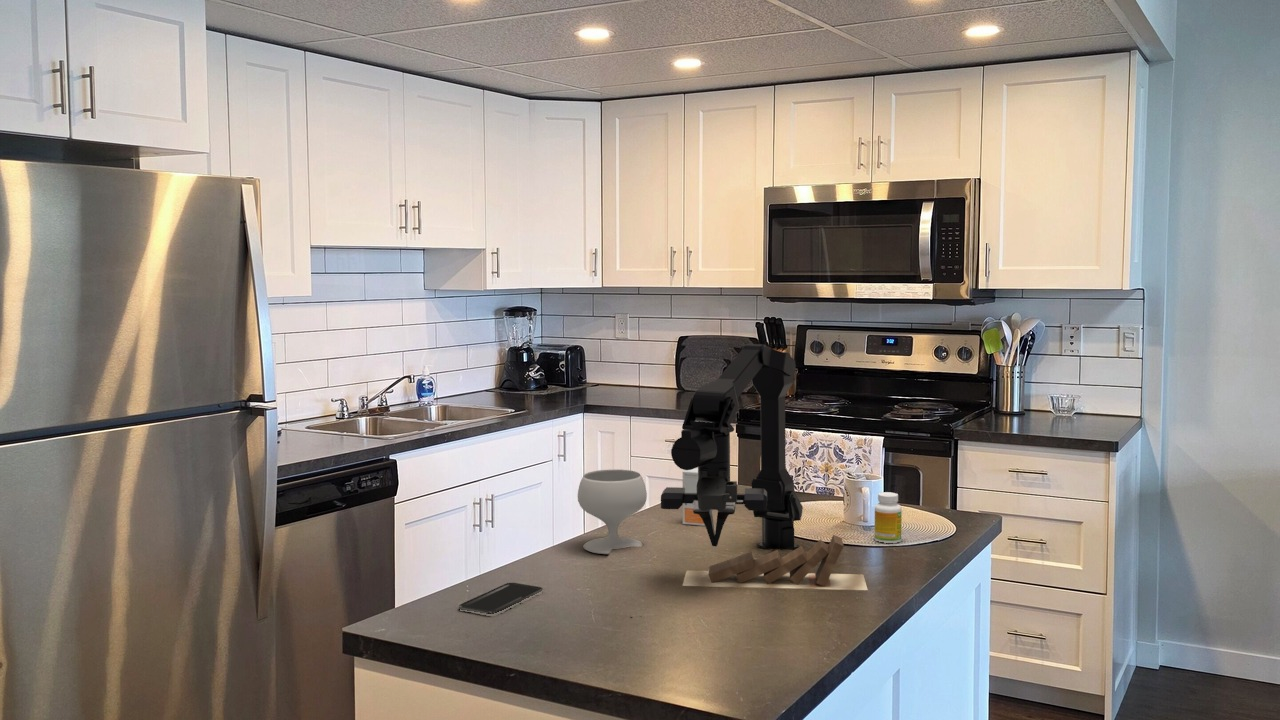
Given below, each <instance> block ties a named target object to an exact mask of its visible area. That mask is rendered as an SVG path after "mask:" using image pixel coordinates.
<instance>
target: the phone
mask: <svg viewBox="0 0 1280 720" xmlns="http://www.w3.org/2000/svg"><path fill="white" fill-rule="evenodd" d="M542 590H544V589H543V587H541V586H535V585H529V584H523V583H518V582H507V583H504V584H502V585H500V586H498V587H495V588H493V589H491V590H489V591H486V592H484V593H482V594H480V595H477V596H475V597H474V598H471V599H469V600H467V601H465V602H463V603H460V604H459V605H458V610H459V609H461V610H467V611H474V612H480V613H486V614H494V613H497V612H499V611H502V610H504V609H506V608H508V607H510V606H512V605H514V604H516V603H519V602H521V601H522V600H524V599H526V598H529V597H530V596H533V595H535V594H537V593H539V592H541V591H542Z"/></svg>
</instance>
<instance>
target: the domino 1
mask: <svg viewBox="0 0 1280 720" xmlns="http://www.w3.org/2000/svg"><path fill="white" fill-rule="evenodd" d="M754 560H755V558H754V555H753V553H752V551H748V552H746V553H744V554H741V555H738V556H735V557H732V558H729V559H726V560H724V561H720V562H718V563H715V564H713V565H709V569H708V571H709V574H708V575H709V577H710V580H711V582H712V583H713V582H715V581H718V580H721V579H724V578H727V577H729V576H732V575H735V574H738V573H741V572H744V571H746V570H749V569H752V568H754Z"/></svg>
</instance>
